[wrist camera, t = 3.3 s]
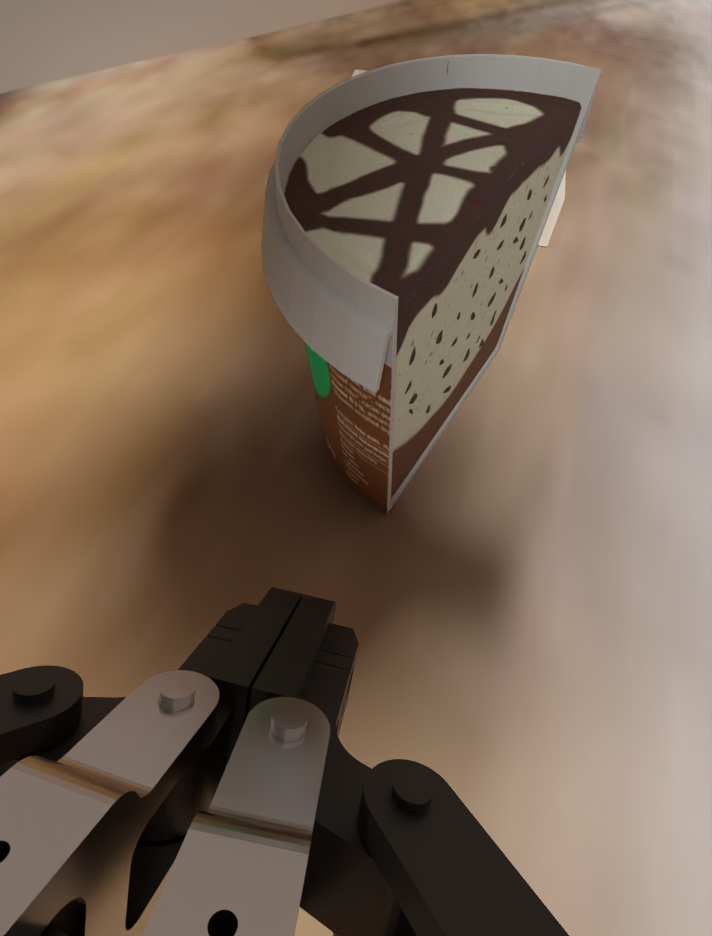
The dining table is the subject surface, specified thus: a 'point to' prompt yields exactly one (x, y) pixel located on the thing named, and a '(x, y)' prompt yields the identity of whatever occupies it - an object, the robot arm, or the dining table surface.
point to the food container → (413, 240)
